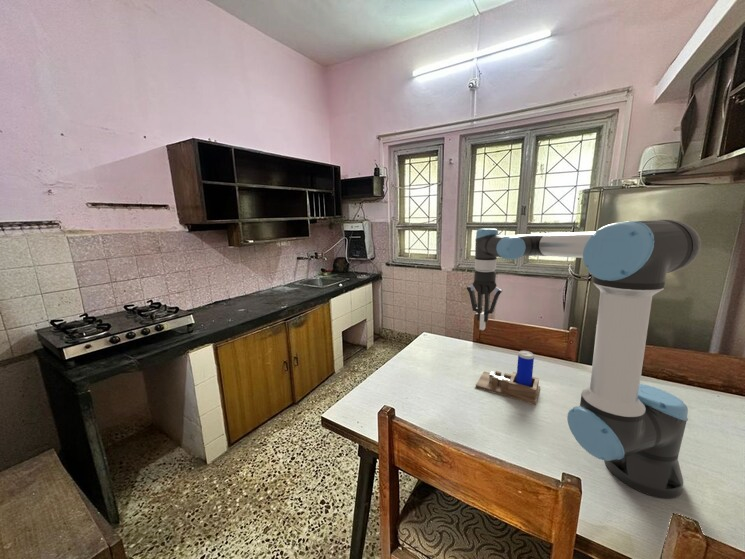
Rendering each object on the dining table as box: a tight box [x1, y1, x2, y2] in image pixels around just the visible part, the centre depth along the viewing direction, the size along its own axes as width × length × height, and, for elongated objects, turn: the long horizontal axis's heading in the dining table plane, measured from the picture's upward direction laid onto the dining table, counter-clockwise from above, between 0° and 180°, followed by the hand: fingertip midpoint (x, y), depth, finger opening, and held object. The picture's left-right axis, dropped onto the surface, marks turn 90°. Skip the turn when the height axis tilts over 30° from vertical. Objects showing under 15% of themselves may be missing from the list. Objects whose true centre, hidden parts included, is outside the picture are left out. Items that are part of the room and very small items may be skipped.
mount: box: [475, 370, 541, 406], centre depth 115 cm, size 12×21×5 cm, turn 55°
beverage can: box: [516, 350, 535, 387], centre depth 110 cm, size 5×5×15 cm
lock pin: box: [489, 371, 510, 385], centre depth 116 cm, size 3×7×3 cm, turn 55°
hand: (482, 328), depth 116 cm, fingers closed
